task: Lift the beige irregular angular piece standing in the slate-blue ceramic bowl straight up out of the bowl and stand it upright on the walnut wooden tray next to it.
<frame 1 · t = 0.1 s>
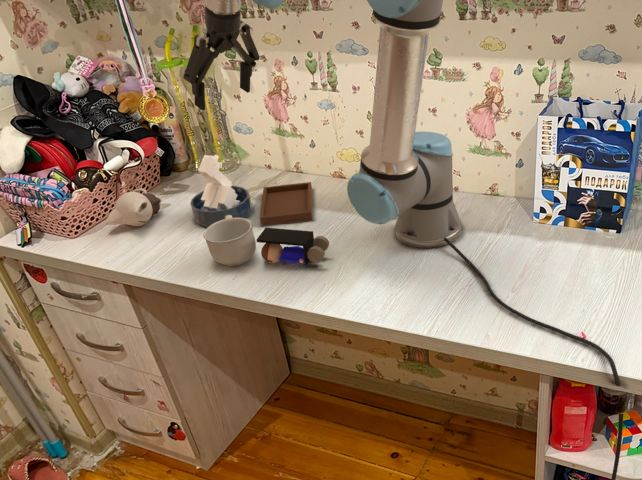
hand: (222, 98, 164), 28 cm above the table, tool tilted 20°, fingers open, 13 cm apart
tray: (287, 207, 179), on the table
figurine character: (296, 263, 157), on the table
bowl: (223, 214, 178), on the table
teacup: (236, 256, 161), on the table
beige irregular angular piece: (223, 214, 178), resting on bowl
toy: (138, 222, 179), on the table
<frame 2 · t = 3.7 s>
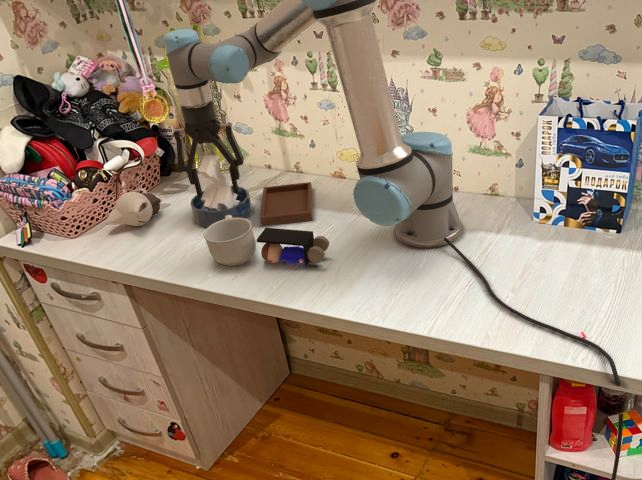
hand: (218, 193, 175), 6 cm above the table, tool pointing down, fingers closed on beige irregular angular piece, 8 cm apart
beige irregular angular piece: (223, 214, 178), resting on bowl, touching gripper
everything else where it was.
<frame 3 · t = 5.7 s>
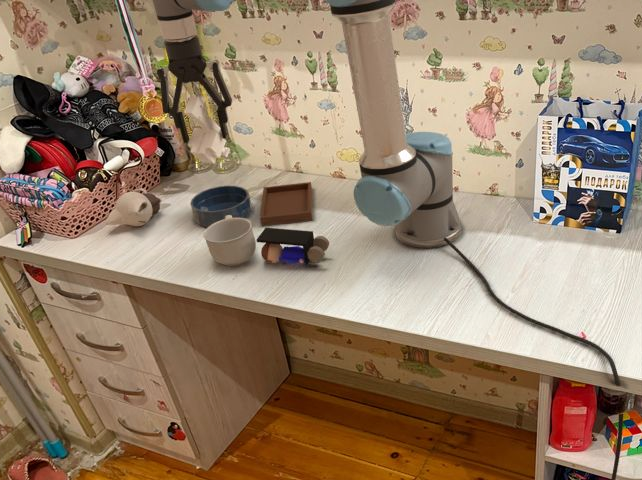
hand: (206, 138, 166), 20 cm above the table, tool pointing down, fingers closed on beige irregular angular piece, 8 cm apart
beige irregular angular piece: (211, 161, 169), point 14 cm above the table, touching gripper
everything else where it was.
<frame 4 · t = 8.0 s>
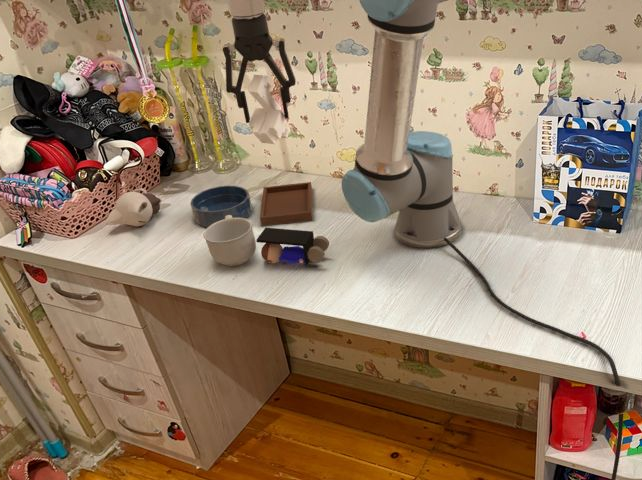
hand: (267, 118, 164), 23 cm above the table, tool pointing down, fingers closed on beige irregular angular piece, 8 cm apart
beige irregular angular piece: (272, 142, 168), point 17 cm above the table, touching gripper
everything else where it was.
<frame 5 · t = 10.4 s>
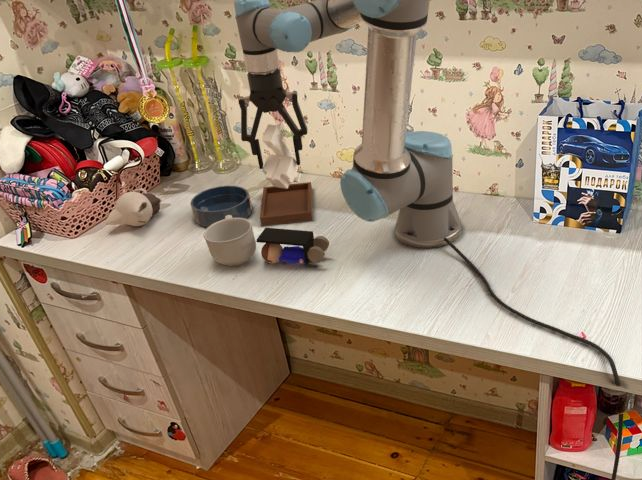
hand: (280, 164, 171), 12 cm above the table, tool pointing down, fingers closed on beige irregular angular piece, 8 cm apart
beige irregular angular piece: (284, 186, 175), point 6 cm above the table, touching gripper
everything else where it was.
when the fingers open (6 cm above the table, at t = 12.2 s): beige irregular angular piece stays where it is, resting on tray.
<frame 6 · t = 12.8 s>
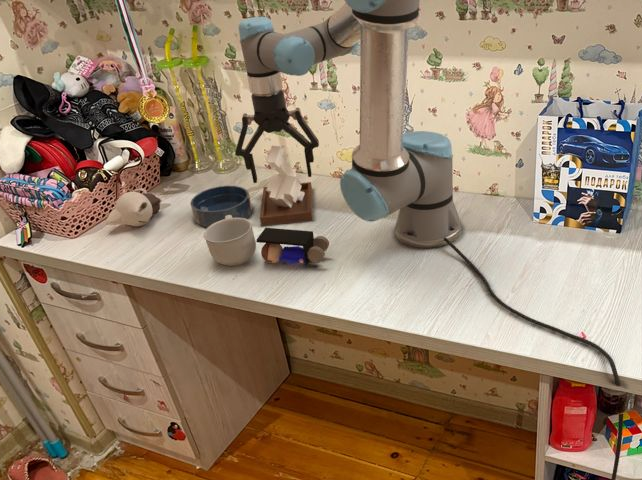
hand: (282, 177, 173), 8 cm above the table, tool pointing down, fingers open, 13 cm apart
beige irregular angular piece: (287, 205, 178), point 1 cm above the table, touching tray
everything else where it was.
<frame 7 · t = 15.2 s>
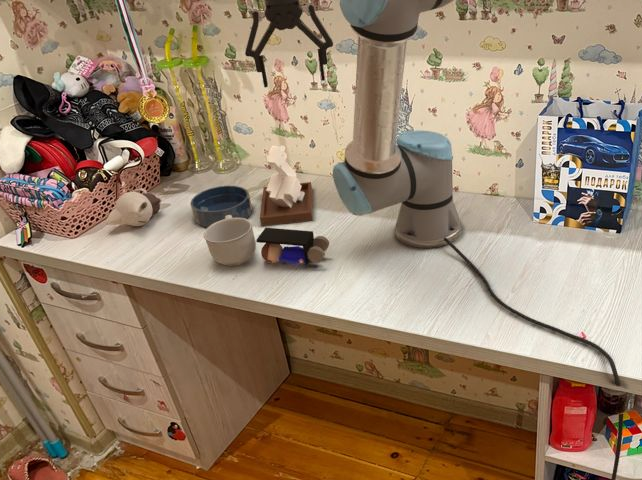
hand: (294, 82, 165), 29 cm above the table, tool pointing down, fingers open, 13 cm apart
nothing on the table moved.
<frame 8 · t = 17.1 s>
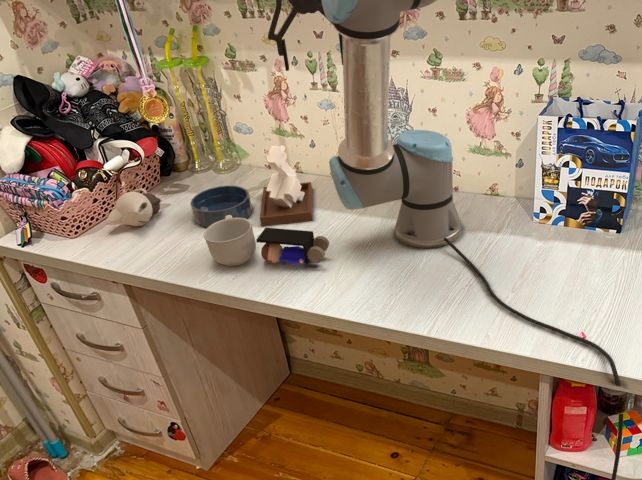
hand: (315, 66, 168), 31 cm above the table, tool pointing down, fingers open, 13 cm apart
nothing on the table moved.
at the end: beige irregular angular piece inside the target area in the tray (0.1 cm from its centre), point 0.6 cm above the tray's base; beige irregular angular piece tilted 0°; the gripper is holding nothing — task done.
